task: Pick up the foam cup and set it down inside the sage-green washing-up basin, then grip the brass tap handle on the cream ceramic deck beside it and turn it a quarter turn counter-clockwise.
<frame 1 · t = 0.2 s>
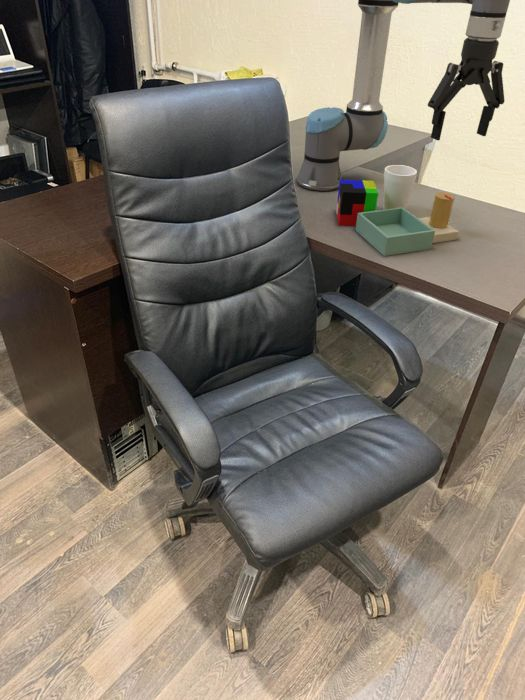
hand: (458, 136, 131), 28 cm above the table, tool pointing down, fingers open, 13 cm apart
puzzle toy: (354, 219, 158), on the table
tap handle: (441, 209, 147), point 7 cm above the table, hinge at 0.0°
basin: (392, 239, 147), on the table
foam cup: (393, 212, 162), on the table
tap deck: (433, 233, 151), on the table
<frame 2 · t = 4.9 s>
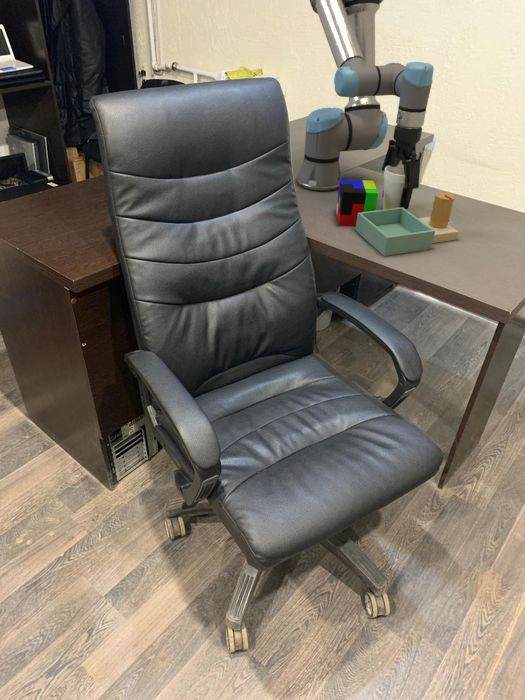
hand: (394, 202, 160), 3 cm above the table, tool pointing down, fingers closed on foam cup, 9 cm apart
foam cup: (393, 212, 162), on the table, touching gripper
everything else where it was.
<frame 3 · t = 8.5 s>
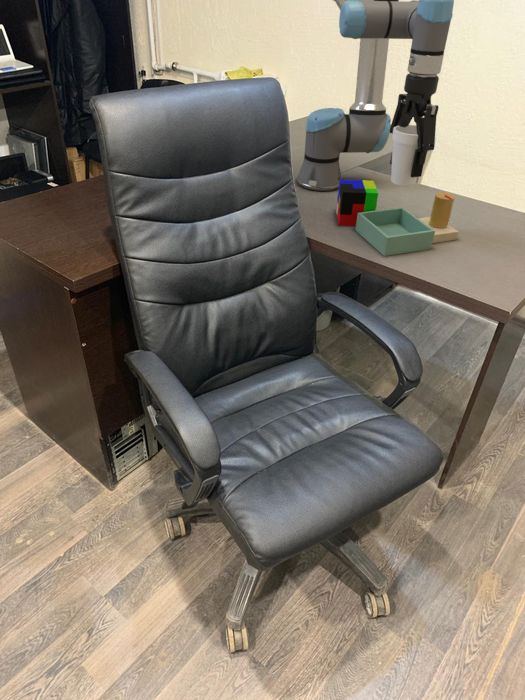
hand: (405, 169, 136), 19 cm above the table, tool pointing down, fingers closed on foam cup, 9 cm apart
foam cup: (402, 182, 138), point 16 cm above the table, touching gripper
everything else where it was.
when the fingers open (4 cm above the table, at t = 12.4 s): foam cup stays where it is, resting on basin.
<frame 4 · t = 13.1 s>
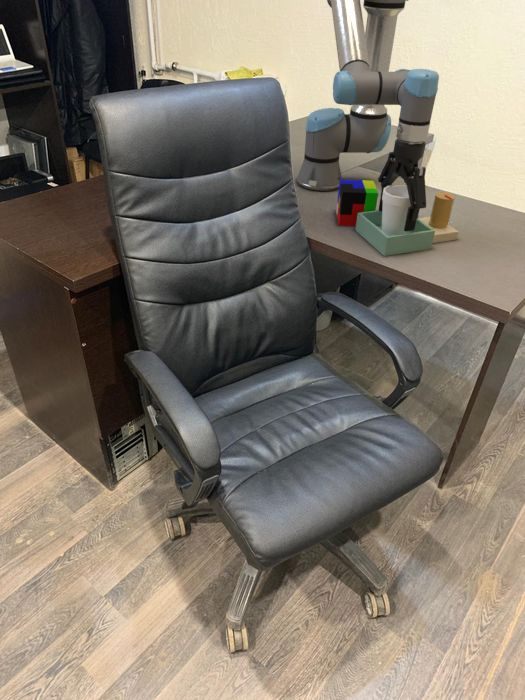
hand: (395, 220, 144), 6 cm above the table, tool pointing down, fingers open, 13 cm apart
foam cup: (392, 237, 147), point 1 cm above the table, touching basin
everything else where it was.
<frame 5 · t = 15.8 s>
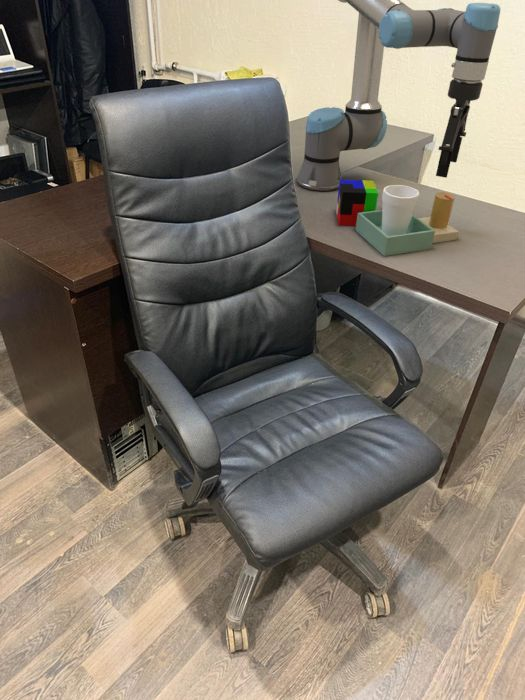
hand: (446, 168, 139), 19 cm above the table, tool pointing down, fingers open, 13 cm apart
nothing on the table moved.
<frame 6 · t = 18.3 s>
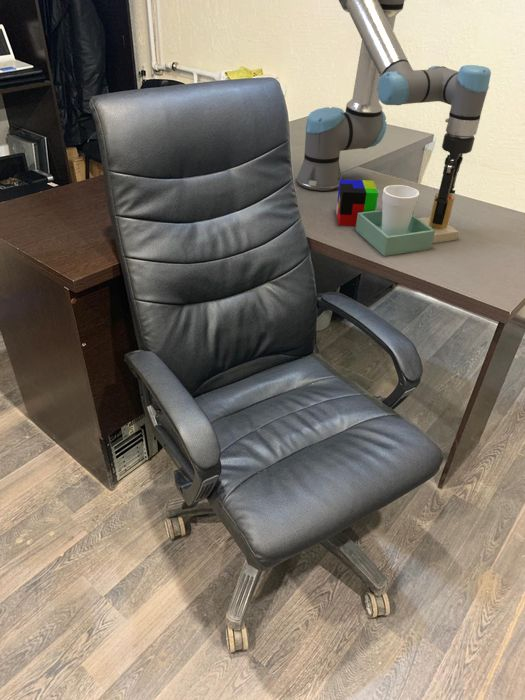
hand: (439, 219, 149), 4 cm above the table, tool pointing down, fingers closed on tap handle, 5 cm apart
tap handle: (441, 209, 147), point 7 cm above the table, hinge at 0.0°, touching gripper
everything else where it was.
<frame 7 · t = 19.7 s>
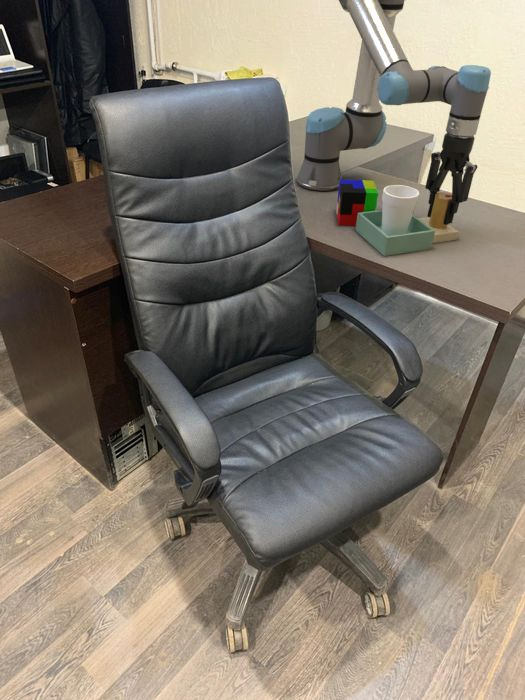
hand: (439, 219, 149), 4 cm above the table, tool pointing down, fingers closed on tap handle, 5 cm apart
tap handle: (441, 209, 147), point 7 cm above the table, hinge at 60.2°, touching gripper
everything else where it was.
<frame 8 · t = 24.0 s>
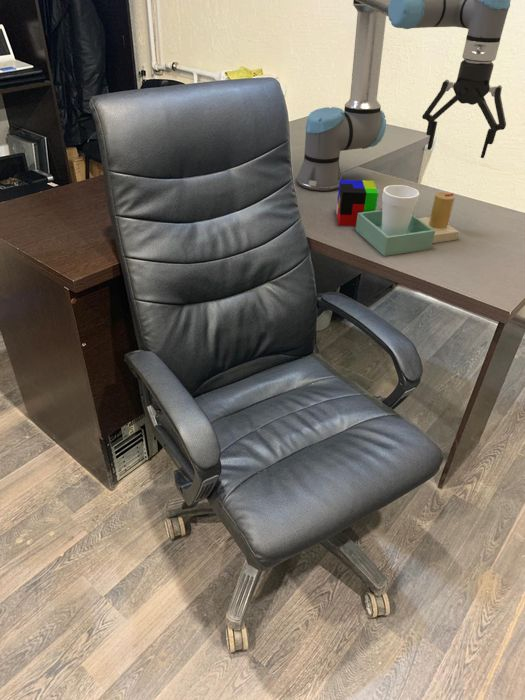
hand: (455, 152, 137), 23 cm above the table, tool pointing down, fingers open, 13 cm apart
tap handle: (441, 209, 147), point 7 cm above the table, hinge at 90.9°
everything else where it was.
at the end: foam cup inside the target area in the basin (0.0 cm from its centre), point 0.6 cm above the basin's base; foam cup tilted 0°; tap handle at +91° (first picture: +0°) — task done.
